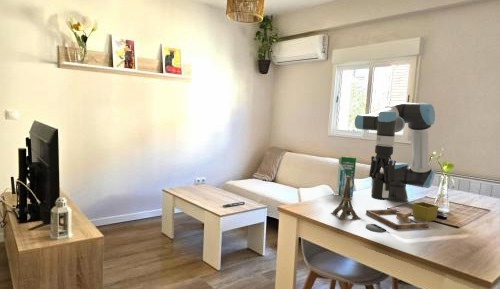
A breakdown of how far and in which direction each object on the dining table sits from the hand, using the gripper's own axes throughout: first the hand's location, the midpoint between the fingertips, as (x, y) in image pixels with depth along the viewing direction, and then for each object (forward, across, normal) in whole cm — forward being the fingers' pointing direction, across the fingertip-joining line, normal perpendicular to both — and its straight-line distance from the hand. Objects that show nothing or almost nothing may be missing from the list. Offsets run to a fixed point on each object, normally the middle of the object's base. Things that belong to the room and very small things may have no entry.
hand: (379, 195), depth 149 cm
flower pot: (+16, -5, +32) cm, 36 cm away
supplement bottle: (+2, 0, 0) cm, 2 cm away
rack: (+16, -5, +15) cm, 22 cm away
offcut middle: (+14, -5, +19) cm, 25 cm away
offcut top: (+12, -5, +20) cm, 24 cm away
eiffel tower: (+16, -18, -5) cm, 25 cm away
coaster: (+16, 0, 0) cm, 16 cm away
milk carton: (+16, -61, +22) cm, 67 cm away
